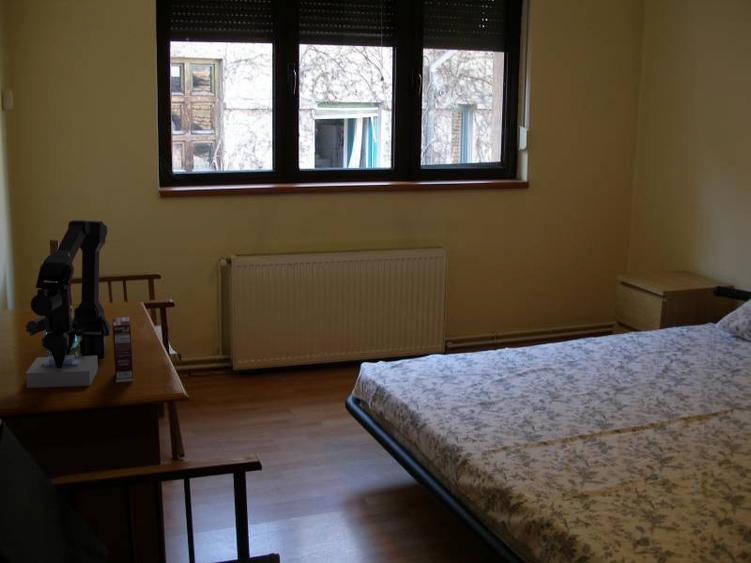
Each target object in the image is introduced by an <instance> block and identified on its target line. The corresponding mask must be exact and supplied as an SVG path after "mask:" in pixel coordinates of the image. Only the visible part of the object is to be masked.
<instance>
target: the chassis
mask: <svg viewBox="0 0 751 563" xmlns="http://www.w3.org/2000/svg"><path fill="white" fill-rule="evenodd" d="M50 357H51V356H42V357H36V359H35V360H34V361H33V363H32V364H31V365H30V367H29V368H28V369H27V371H26V372H25V379H26V380H25V381H26V382H25V384H26V389H30V388H32V389H33V388H34V389H35V388H57V387H60V388H61V387H84V386H85V387H87V386H91V385H92V382H93V380H94V378H95V377H96V375H97V372H98V371H99V363H98V358H97V356H82V355H75V359H81V362H80V364H79V365H78V366H75V367H62V368H57V367H50V368H49V367H43V364H44V363H45V361H46V360H49V359H50Z"/></svg>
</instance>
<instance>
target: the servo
mask: <svg viewBox="0 0 751 563" xmlns="http://www.w3.org/2000/svg"><path fill="white" fill-rule="evenodd" d="M75 356H76V355H75V354H69V355H66V356H65V359H64V362H63V365H62V367H75V366H78V365H79V364H80V362H81V359H75ZM49 357H50V359H49V360H46V361H45V363H44V364H43V367H49V368H50V367H57V366H56V364H55V361H54V358H53V355H50V356H49Z"/></svg>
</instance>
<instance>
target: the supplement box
mask: <svg viewBox="0 0 751 563" xmlns="http://www.w3.org/2000/svg"><path fill="white" fill-rule="evenodd" d="M111 320H112V321H111V322H112V325H111V327H112V329H111V330H112V345H113V346H112V348H113V361H114V362H113V363H114V373H115V374H114V375H115V382H116V383H124V382H125V383H126V382H127V383H128V382H134V367H133V366H134V363H133V346H132V334H131V321H130V320H131V319H130V316H123V317H122V316H121V317H113V318H112V319H111Z"/></svg>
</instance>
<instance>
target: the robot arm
mask: <svg viewBox="0 0 751 563" xmlns="http://www.w3.org/2000/svg"><path fill="white" fill-rule="evenodd" d="M107 236H108V227H107V225H106V224H104V222H103V221H102V220H86V219H85V220H84V219H83V220H81V219H80V220H79V219H72V220H70V221H69V222H68V226H67V229H66V231H65V233H64V235H63V238H62V239H61V241H60V243H59V245H58V247H57V249H56V251H55V252H53V253H51V254H50V255H48V256H47V257H46V258H45V259H44V261H42V264H41V265H40V267H39V271H38V272H39V273H38V276H37V280H36V284H35V288H36V289H37V290H36V292H37V293H36V294H35V295H34V296H33V297H32V299H31V301H30V308H31V311H32V313H34V314H36V315H37V316H39V317H37V318H33V319H32V320H28V321H27V323H26V324H25V332H26V333H28V335H29V336H30V337H32V336H35V335H36V334H39V333H41V332H44V331H45V333H46V334H45V335H43V337H42V339H41V347H43V348H44V349H45V350H48V351H50V352H51V356H53V358H54V361H55V364H56V366H57V368H62V365H63V362H64V359H65V356H66V355H70V352H71V350H72V347H73V345H74V341H75V338H76V337H81V339H79V340H80V341H79V352H80V353H79V355H80V356H97V359H99V358H105V357H106V355H107V352H108V350H107V349H106V348H107V347H106V346H107V345H106V337H108V336H110V334H111V325H110V323H109V322H108V320H107V319H106V316H105V309H104V308H103V306H102V305H101V303H100V300H99V299H100V298H99V292H100V291H99V290H100V252H101V250H102V249H103V247H104V246H105V244H106V241H107V240H106V239H107V238H106V237H107ZM79 249H80V250H81V299H80V300H81V301H80V303H79V305H78V306H77V307H75V308H74V318H72V312H73V308H72V307H71V299H70V298H71V295H70V287H72V283H71V282H72V278H73V276H74V271H75V268H74V265H73V262H74V259H75V257H76V255H77V254H78V251H79Z"/></svg>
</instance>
